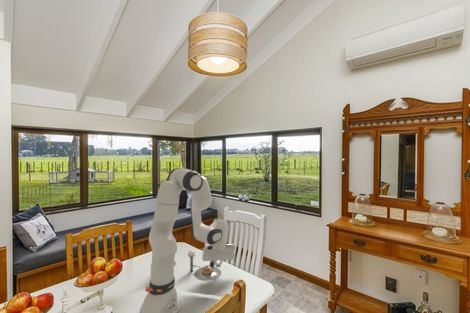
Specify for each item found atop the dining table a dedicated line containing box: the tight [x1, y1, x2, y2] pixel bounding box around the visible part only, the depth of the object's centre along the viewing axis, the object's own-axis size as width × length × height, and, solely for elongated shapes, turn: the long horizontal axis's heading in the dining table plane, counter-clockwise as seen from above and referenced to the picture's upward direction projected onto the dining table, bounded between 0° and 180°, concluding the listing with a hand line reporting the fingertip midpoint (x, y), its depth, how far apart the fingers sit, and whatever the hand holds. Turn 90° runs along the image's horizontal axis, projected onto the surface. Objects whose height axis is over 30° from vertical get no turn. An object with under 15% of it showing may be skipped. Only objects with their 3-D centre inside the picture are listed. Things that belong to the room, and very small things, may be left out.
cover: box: [201, 265, 213, 276], centre depth 146 cm, size 7×7×4 cm
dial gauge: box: [187, 250, 201, 273], centre depth 147 cm, size 8×4×15 cm, turn 78°
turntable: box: [193, 261, 222, 282], centre depth 147 cm, size 20×17×4 cm
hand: (218, 266), depth 143 cm, fingers closed
